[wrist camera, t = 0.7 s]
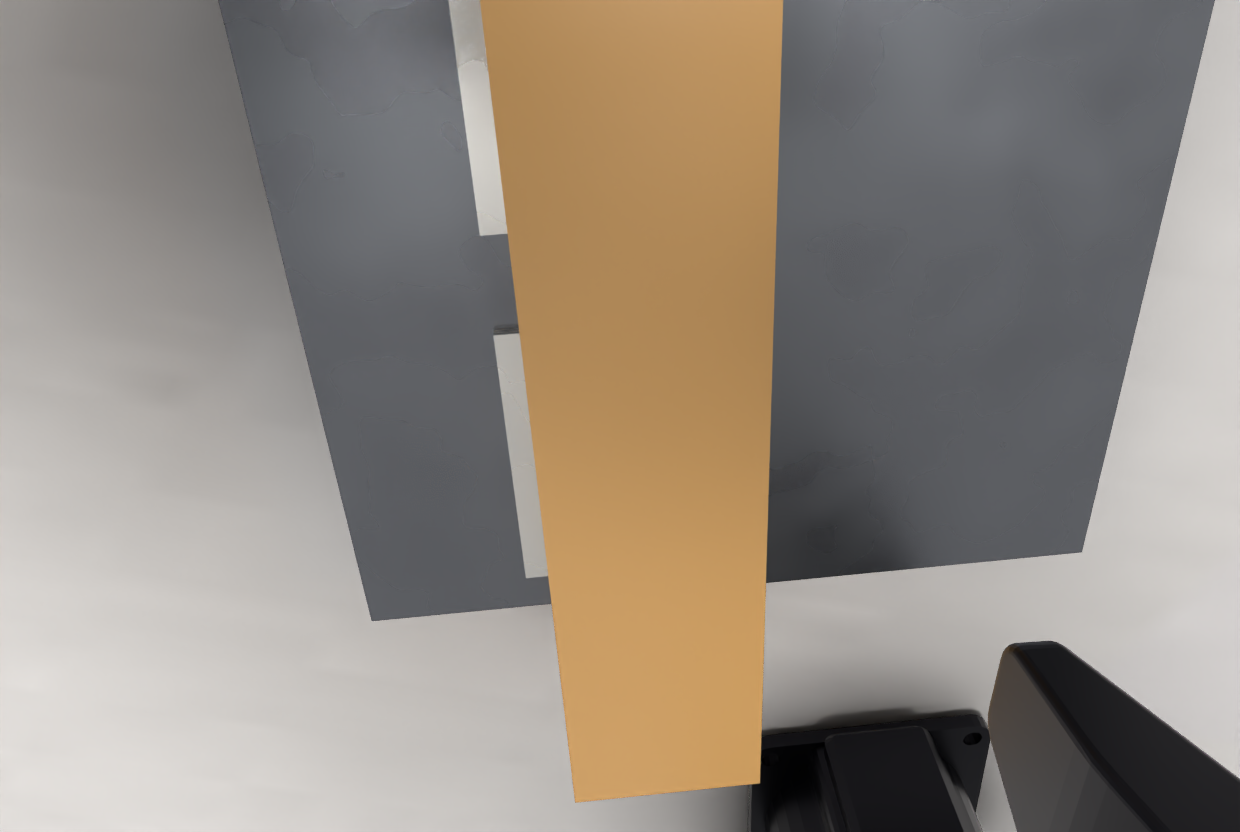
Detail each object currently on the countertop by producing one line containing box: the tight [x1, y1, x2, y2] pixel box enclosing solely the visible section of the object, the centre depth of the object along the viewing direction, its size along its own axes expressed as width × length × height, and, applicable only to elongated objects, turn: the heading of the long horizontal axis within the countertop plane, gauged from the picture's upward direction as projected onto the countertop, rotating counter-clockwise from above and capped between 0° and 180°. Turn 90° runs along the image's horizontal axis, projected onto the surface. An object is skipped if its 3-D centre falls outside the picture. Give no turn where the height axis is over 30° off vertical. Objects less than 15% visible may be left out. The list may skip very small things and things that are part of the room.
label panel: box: [219, 0, 1215, 621], centre depth 19 cm, size 22×16×2 cm
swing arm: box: [480, 0, 783, 803], centre depth 17 cm, size 22×4×4 cm, turn 3°
